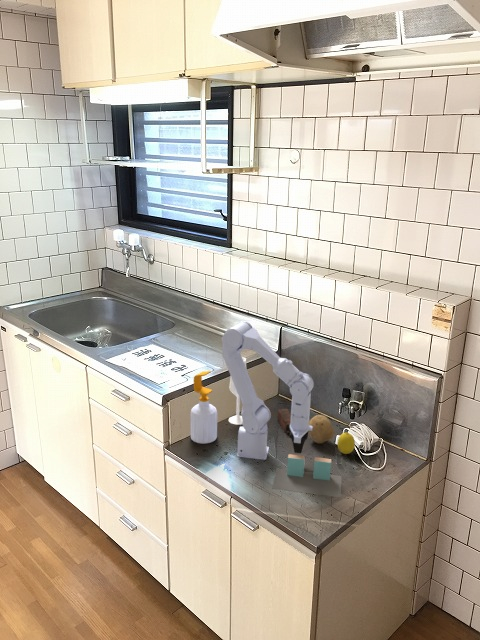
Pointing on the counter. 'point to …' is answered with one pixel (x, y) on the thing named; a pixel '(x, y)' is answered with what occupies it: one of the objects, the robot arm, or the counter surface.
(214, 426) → the soap bottle
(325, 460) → the tile right
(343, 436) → the lemon
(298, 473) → the tile left
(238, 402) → the champagne flute
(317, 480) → the mat
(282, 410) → the brick
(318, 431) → the brown round lump
